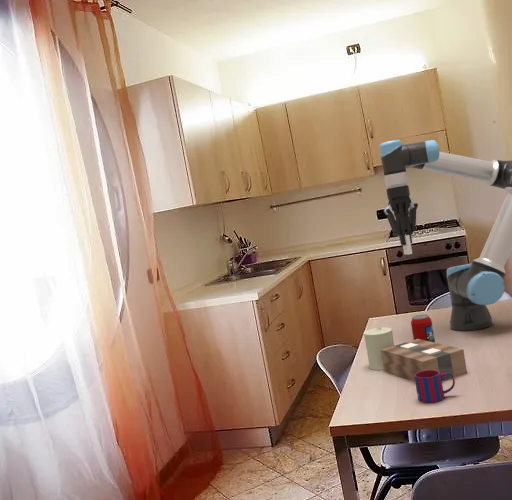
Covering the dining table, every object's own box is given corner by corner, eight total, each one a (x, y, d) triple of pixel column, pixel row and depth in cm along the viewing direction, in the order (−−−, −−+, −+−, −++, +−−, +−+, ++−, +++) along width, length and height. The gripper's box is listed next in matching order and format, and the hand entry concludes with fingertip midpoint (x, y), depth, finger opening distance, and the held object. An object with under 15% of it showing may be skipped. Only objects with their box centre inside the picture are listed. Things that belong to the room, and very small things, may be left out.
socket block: (384, 371, 194) (380, 349, 194) (421, 360, 199) (417, 338, 198) (426, 385, 173) (422, 361, 173) (467, 372, 178) (463, 349, 178)
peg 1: (414, 364, 194) (410, 342, 193) (422, 366, 190) (418, 344, 190) (403, 367, 192) (400, 346, 192) (411, 370, 189) (407, 347, 188)
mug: (418, 395, 167) (413, 371, 167) (456, 392, 165) (452, 367, 164) (418, 404, 161) (414, 378, 160) (458, 400, 158) (454, 374, 158)
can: (399, 360, 203) (393, 324, 202) (396, 368, 195) (390, 331, 194) (371, 362, 206) (365, 327, 206) (367, 371, 198) (360, 334, 197)
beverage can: (437, 352, 204) (431, 317, 203) (416, 355, 205) (410, 320, 204) (435, 347, 210) (429, 313, 210) (415, 349, 212) (409, 315, 211)
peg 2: (436, 371, 184) (432, 348, 183) (445, 373, 180) (441, 350, 179) (425, 374, 182) (421, 351, 182) (433, 377, 178) (429, 353, 178)
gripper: (406, 184, 218) (417, 250, 219) (374, 190, 213) (386, 257, 215) (419, 182, 211) (430, 250, 212) (386, 188, 206) (398, 257, 208)
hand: (408, 253), depth 214 cm, fingers closed
